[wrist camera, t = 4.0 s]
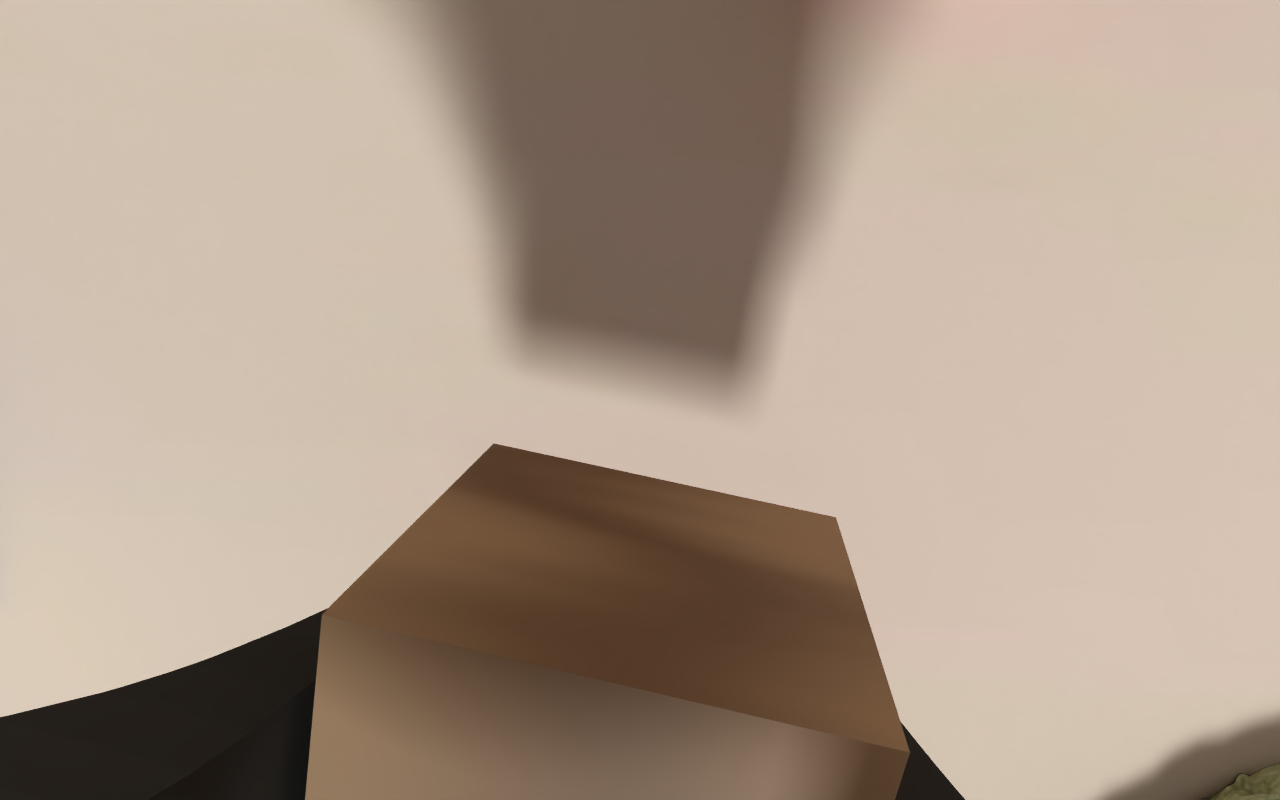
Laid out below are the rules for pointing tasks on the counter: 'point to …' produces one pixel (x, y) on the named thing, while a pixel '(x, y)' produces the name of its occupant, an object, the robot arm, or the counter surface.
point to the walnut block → (602, 650)
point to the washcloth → (1254, 786)
